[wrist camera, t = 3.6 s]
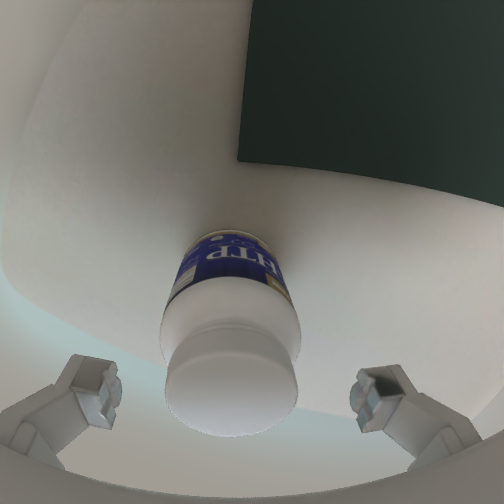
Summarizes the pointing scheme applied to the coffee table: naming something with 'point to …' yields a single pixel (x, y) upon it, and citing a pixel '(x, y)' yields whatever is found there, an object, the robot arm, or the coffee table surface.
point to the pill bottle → (230, 338)
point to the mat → (379, 91)
